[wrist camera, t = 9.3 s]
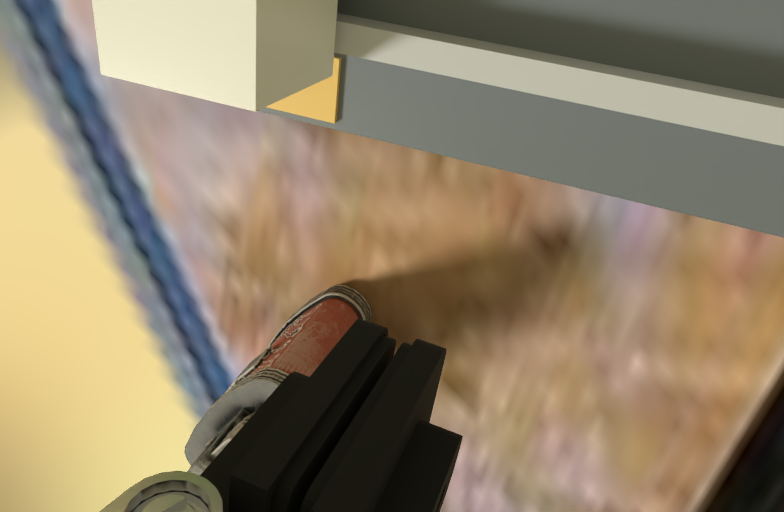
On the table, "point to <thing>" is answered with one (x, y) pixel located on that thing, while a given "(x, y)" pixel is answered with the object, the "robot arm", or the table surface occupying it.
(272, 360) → the lighter
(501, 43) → the fader board
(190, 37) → the fader knob
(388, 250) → the table surface
